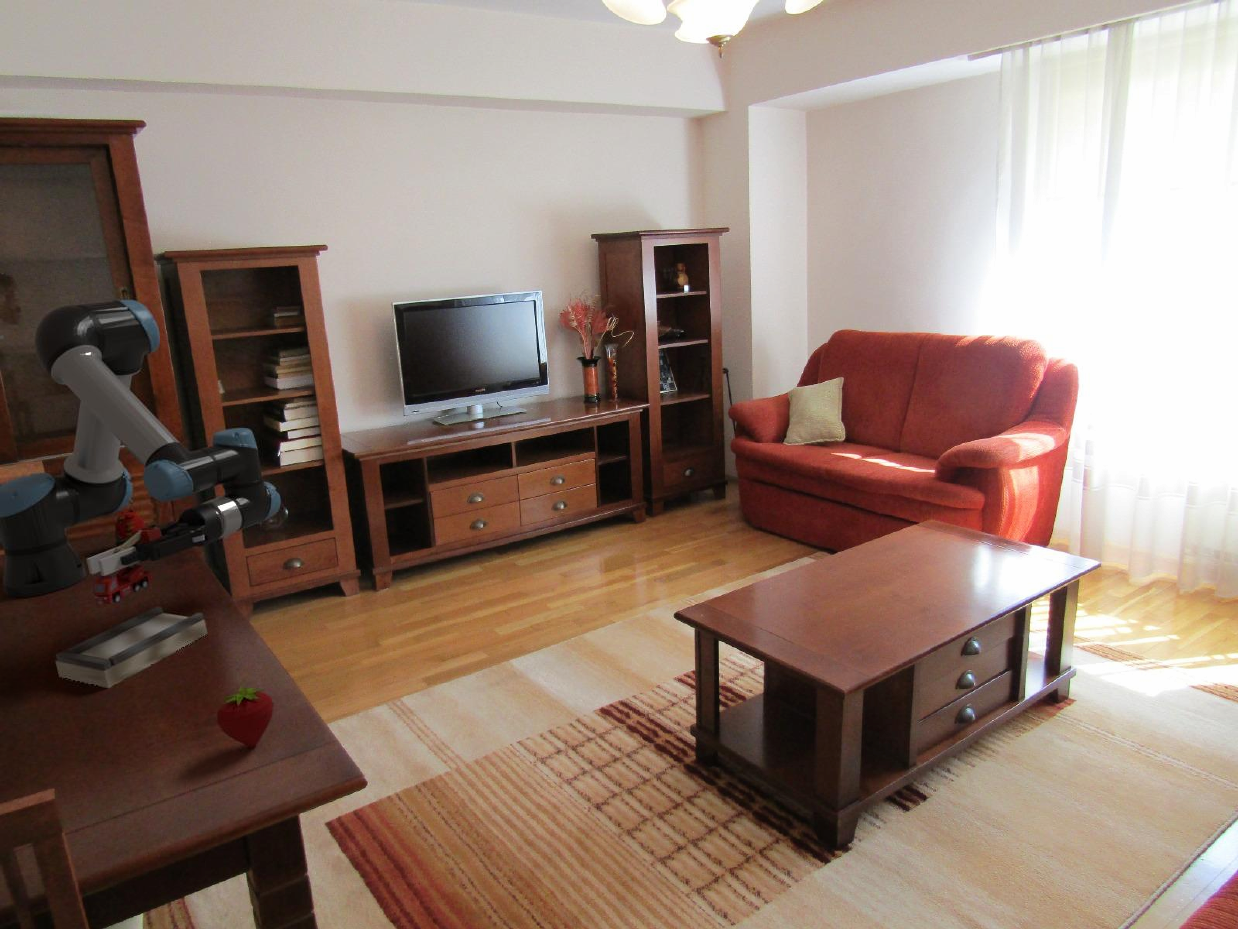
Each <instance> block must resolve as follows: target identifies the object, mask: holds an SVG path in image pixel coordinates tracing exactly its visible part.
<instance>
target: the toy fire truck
mask: <svg viewBox="0 0 1238 929" xmlns="http://www.w3.org/2000/svg"><path fill="white" fill-rule="evenodd" d="M157 528H158V527H157ZM157 528H148V527H146V528H141V529H134V530H133V535H134V536H132V537H131V538H130V539H129V540H128V541H126V542H125V543H124V544H123V545H121V546H120V547H119V548H118V547H117V548H116V547H115V548H116V549H115V551H114V552H113V554H115V553H118V552H121V551H123V550H126V549H128V548H130V547H131V546H133V545H134V544H135V543H136V542H137V541H138V543H148V542H151V541H153V540H155V539H157V538H160V537H162V534H161V531H160V529H157ZM113 554H112V555H113ZM152 582H153V577H152V572H151V571H147V570H144V566H143V565H141V564H140V563H139V562H137V563H135V564H132V565H130V566H127V567H125V568H123V569H120V570H118V572H117V574H116V575H115V576H113V575H106V576H101V575H100V576H98V577H96V578H95V580H94V581H93V593H94V601H95V603H96V604H100V605H112V604H113V603H116V604H117V603H120V602H121V599H122V598H125V597H126V596H128V595H131V594H132V593H133V592H134V593H139V592H140V590H141V589H147V588H148V586H149V584H151V583H152Z"/></svg>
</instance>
